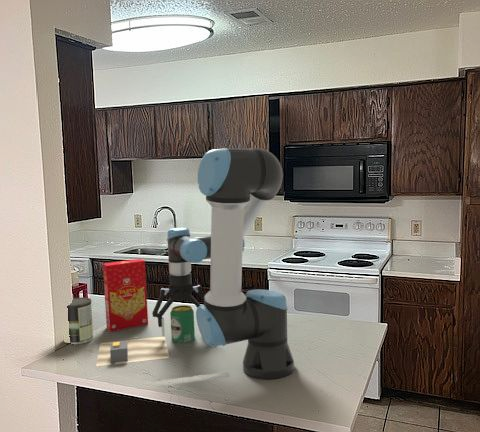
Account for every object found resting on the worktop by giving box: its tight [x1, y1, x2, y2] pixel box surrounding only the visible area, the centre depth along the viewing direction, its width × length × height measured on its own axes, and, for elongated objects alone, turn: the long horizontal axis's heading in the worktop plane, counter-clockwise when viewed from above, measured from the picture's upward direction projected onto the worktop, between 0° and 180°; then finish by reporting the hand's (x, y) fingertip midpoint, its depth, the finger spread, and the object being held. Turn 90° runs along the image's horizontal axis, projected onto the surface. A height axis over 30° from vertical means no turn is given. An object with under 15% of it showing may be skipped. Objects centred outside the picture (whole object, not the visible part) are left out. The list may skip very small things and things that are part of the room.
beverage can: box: [170, 304, 196, 344], centre depth 166 cm, size 8×8×12 cm
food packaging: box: [102, 258, 149, 332], centre depth 185 cm, size 15×5×25 cm, turn 120°
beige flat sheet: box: [95, 336, 170, 368], centre depth 157 cm, size 20×22×1 cm
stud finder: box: [110, 340, 128, 363], centre depth 151 cm, size 7×5×5 cm
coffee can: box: [67, 297, 94, 345], centre depth 172 cm, size 10×10×14 cm
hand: (182, 333), depth 167 cm, fingers open, 13 cm apart
